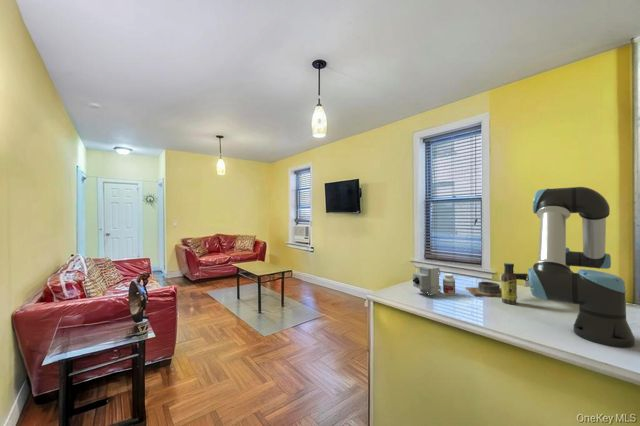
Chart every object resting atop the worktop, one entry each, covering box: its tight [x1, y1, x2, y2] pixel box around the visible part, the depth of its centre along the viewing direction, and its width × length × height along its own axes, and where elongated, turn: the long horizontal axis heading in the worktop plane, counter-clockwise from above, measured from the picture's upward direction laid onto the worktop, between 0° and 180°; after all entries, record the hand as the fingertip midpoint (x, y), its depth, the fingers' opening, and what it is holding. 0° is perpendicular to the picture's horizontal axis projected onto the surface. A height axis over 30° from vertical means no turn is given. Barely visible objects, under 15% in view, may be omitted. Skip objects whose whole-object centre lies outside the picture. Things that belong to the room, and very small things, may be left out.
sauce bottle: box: [501, 262, 518, 305], centre depth 135 cm, size 6×6×20 cm
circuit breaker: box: [412, 265, 442, 296], centre depth 153 cm, size 8×14×15 cm, turn 107°
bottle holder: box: [465, 281, 502, 298], centre depth 151 cm, size 20×14×5 cm
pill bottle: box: [442, 273, 456, 296], centre depth 152 cm, size 6×6×11 cm
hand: (511, 280), depth 136 cm, fingers open, 13 cm apart
